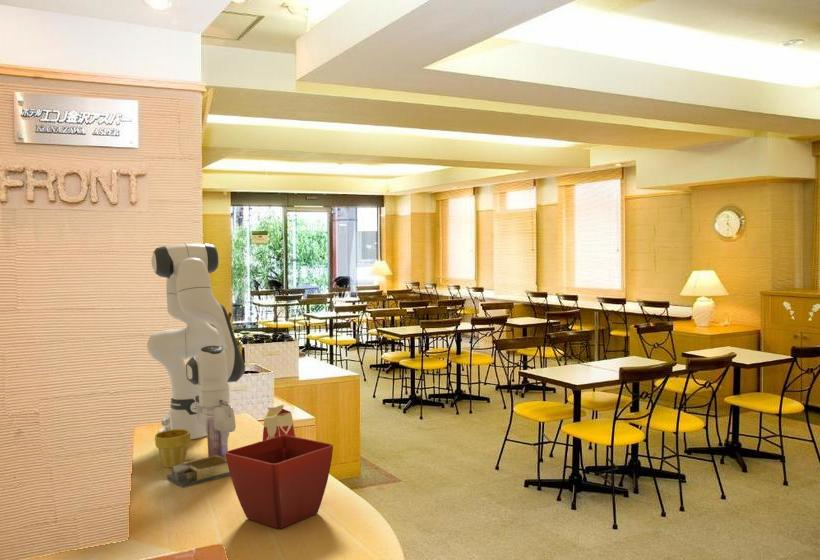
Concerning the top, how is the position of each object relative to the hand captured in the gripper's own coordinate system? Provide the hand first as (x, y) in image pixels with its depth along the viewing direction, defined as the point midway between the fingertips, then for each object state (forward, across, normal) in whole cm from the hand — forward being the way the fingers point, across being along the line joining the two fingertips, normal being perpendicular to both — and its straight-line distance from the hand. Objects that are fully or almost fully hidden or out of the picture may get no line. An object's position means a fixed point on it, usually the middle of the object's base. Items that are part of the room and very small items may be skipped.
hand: (217, 442), depth 215 cm
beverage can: (+6, 0, 0) cm, 6 cm away
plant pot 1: (+6, +8, +11) cm, 15 cm away
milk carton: (+7, -23, -9) cm, 25 cm away
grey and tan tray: (+6, -10, +8) cm, 14 cm away
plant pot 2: (+7, -55, +9) cm, 56 cm away
